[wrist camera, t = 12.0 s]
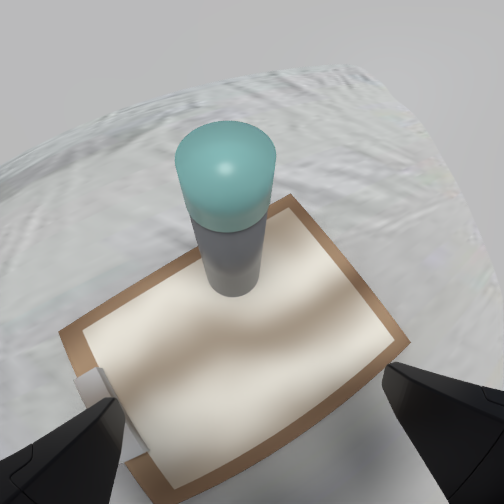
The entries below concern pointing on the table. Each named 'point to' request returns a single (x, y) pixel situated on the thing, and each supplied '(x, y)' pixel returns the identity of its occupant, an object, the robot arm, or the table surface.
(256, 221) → the marker
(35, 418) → the table surface
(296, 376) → the clipboard
